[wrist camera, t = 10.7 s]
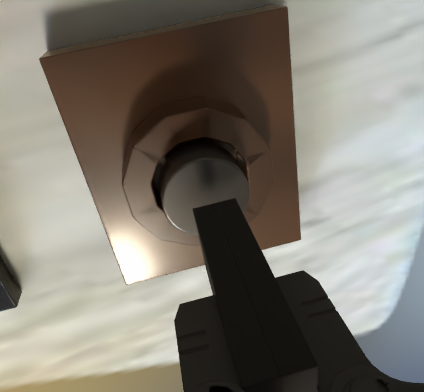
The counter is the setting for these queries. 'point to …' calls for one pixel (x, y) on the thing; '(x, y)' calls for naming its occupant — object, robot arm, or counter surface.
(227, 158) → the button
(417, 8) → the counter surface
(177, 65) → the button block
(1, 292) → the switch bracket
